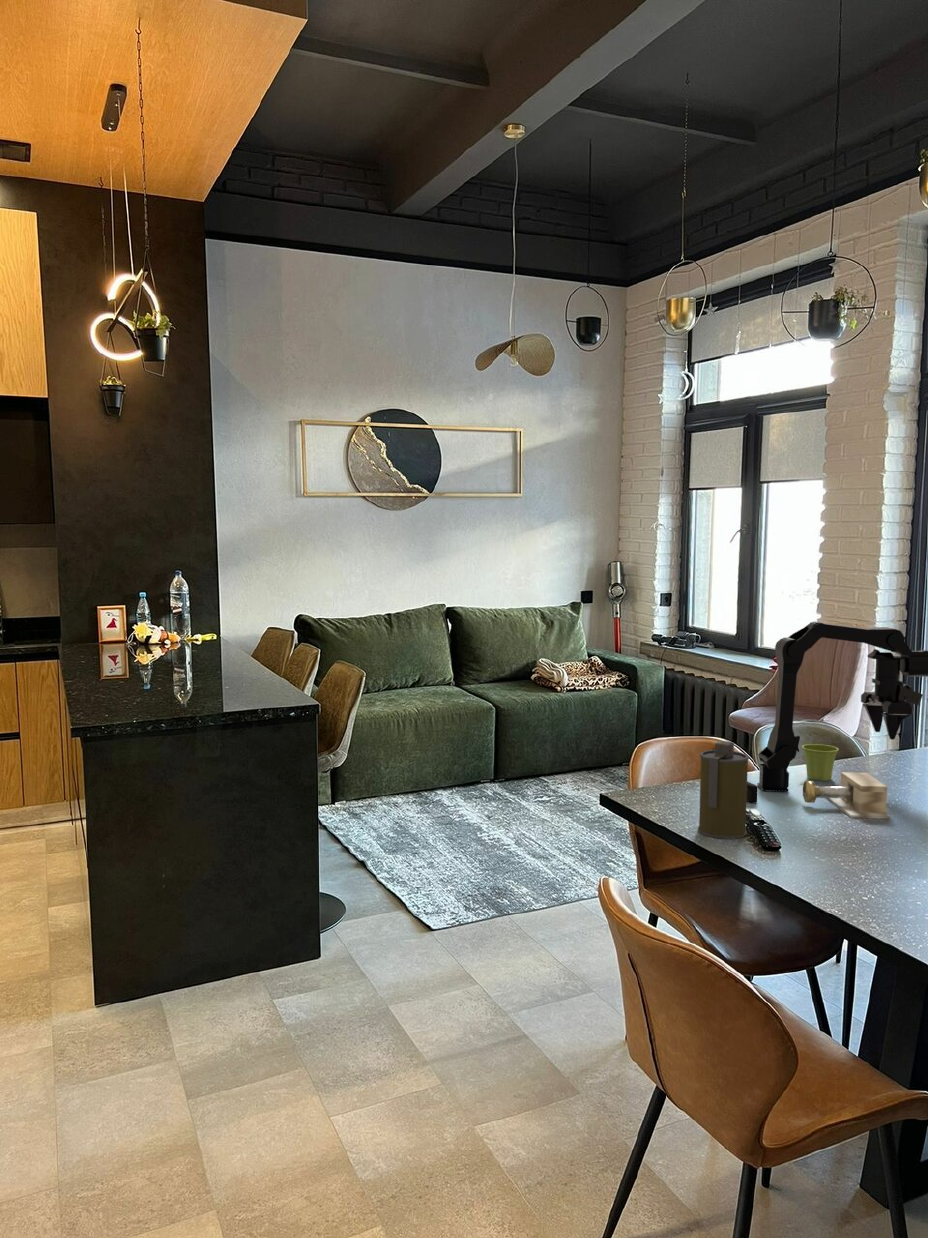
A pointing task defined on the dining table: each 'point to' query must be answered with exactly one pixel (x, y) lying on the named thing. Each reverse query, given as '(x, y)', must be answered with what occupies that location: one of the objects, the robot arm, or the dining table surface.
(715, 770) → the canister
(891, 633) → the robot arm
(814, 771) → the plant pot
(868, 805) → the block
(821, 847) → the dining table surface
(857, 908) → the dining table surface
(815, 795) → the door knob
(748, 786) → the mobile phone
